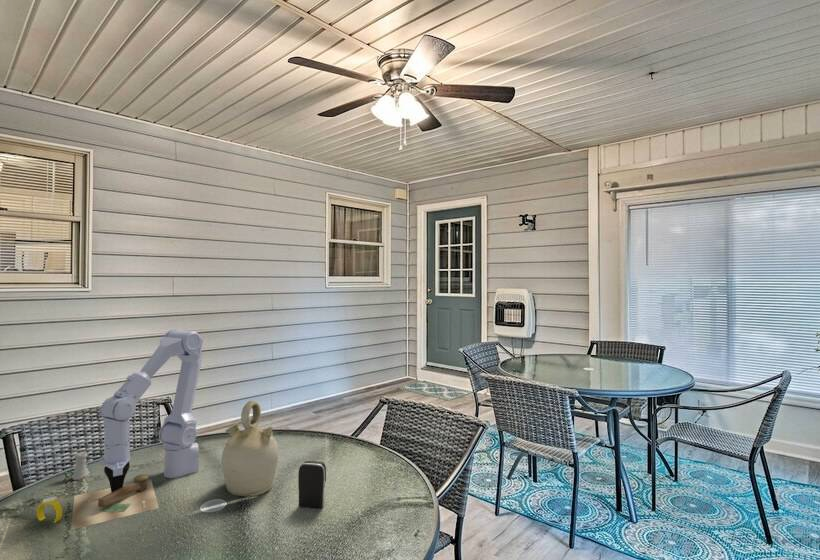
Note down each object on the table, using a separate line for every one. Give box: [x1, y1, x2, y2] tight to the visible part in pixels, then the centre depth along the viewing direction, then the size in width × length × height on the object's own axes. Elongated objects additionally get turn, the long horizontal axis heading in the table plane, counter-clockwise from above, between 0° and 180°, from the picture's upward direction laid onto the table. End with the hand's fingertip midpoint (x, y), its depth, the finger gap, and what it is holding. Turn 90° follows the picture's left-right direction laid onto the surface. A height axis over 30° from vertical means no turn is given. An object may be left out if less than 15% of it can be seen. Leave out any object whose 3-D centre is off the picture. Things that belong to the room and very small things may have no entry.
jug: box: [221, 400, 279, 499], centre depth 127 cm, size 15×16×25 cm
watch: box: [36, 496, 63, 524], centre depth 107 cm, size 6×3×6 cm, turn 80°
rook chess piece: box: [71, 451, 90, 481], centre depth 131 cm, size 4×4×8 cm
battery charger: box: [297, 460, 327, 509], centre depth 118 cm, size 7×4×11 cm, turn 84°
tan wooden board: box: [70, 479, 160, 531], centre depth 116 cm, size 18×20×1 cm
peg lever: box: [98, 474, 149, 507], centre depth 118 cm, size 14×3×4 cm, turn 165°
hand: (116, 492), depth 118 cm, fingers closed, pressing on peg lever
